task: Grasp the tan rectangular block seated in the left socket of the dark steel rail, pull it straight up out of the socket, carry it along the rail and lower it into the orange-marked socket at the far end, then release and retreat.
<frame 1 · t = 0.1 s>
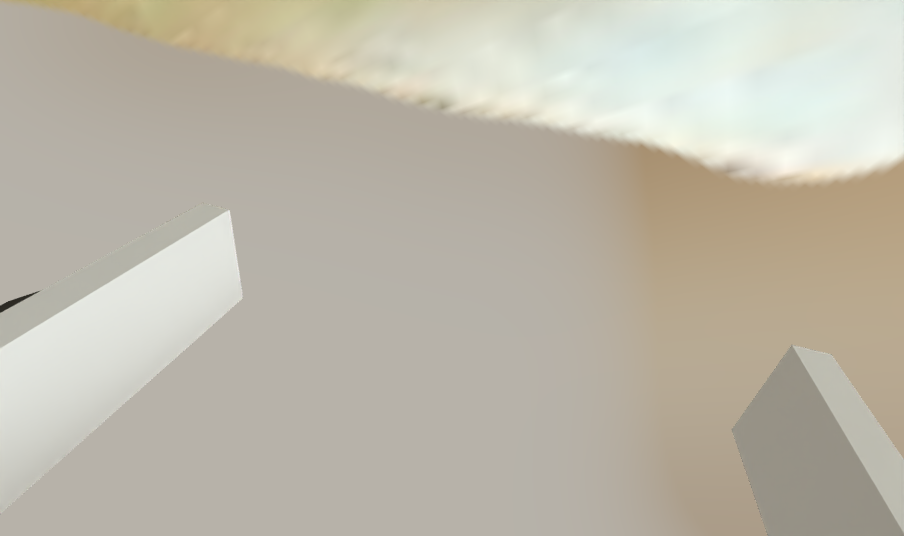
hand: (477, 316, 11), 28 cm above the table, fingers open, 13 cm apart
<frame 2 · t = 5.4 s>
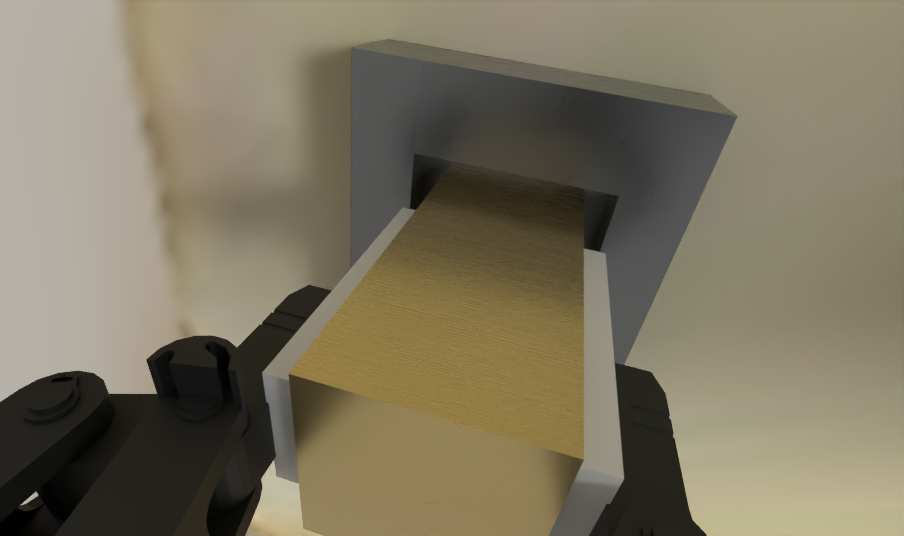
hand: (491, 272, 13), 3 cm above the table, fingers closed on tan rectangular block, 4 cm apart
tan rectangular block: (503, 238, 14), point 1 cm above the table, touching gripper, rail
rail: (471, 389, 20), on the table
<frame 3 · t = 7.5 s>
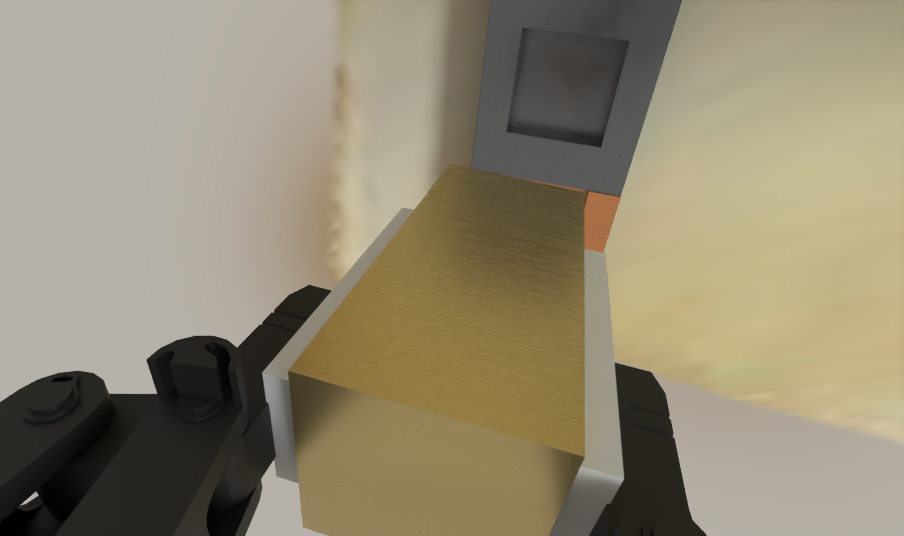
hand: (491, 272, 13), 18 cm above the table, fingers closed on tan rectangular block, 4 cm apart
tan rectangular block: (503, 237, 14), point 16 cm above the table, touching gripper
rail: (565, 82, 27), on the table
when the fingers open (4 cm above the table, at t = 9.7 s): tan rectangular block stays where it is, resting on rail.
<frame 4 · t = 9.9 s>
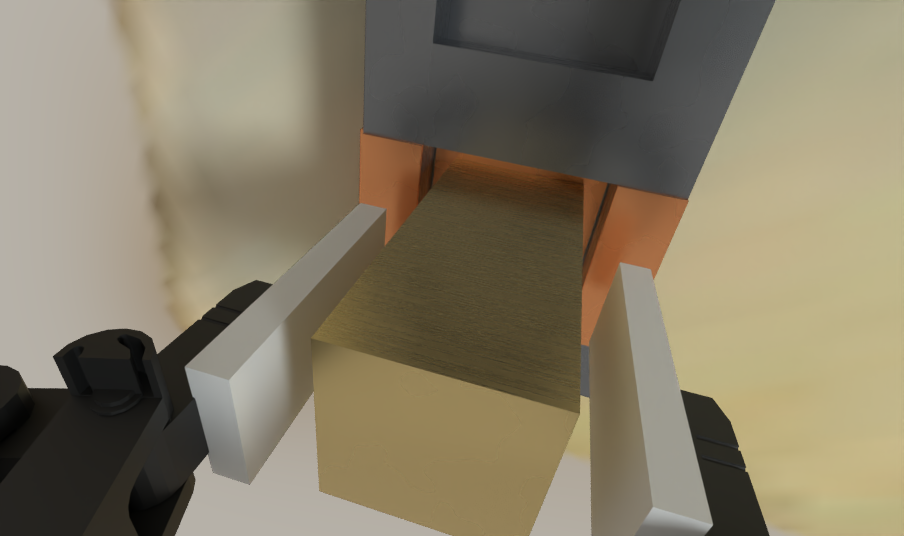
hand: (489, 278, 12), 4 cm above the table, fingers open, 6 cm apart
tan rectangular block: (506, 228, 15), point 1 cm above the table, touching rail
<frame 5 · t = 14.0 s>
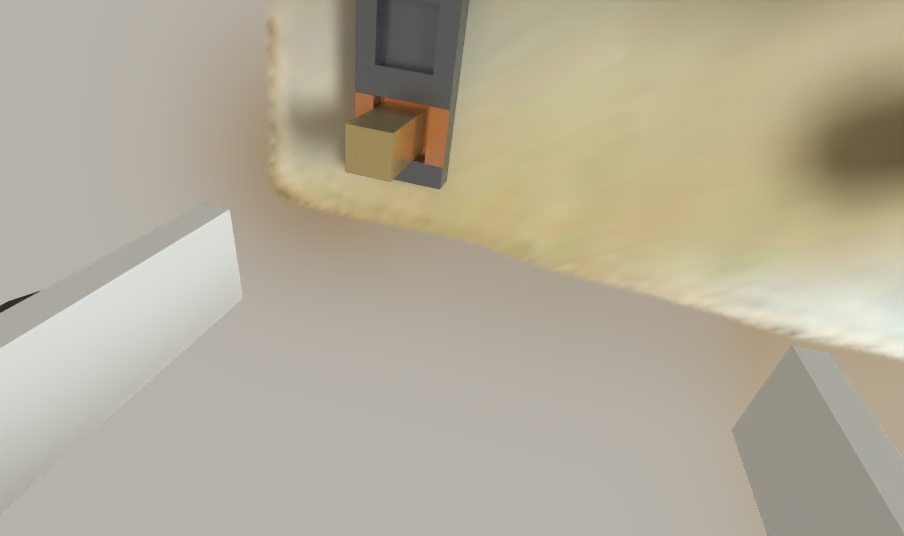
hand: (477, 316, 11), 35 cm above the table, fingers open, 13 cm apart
tan rectangular block: (405, 126, 44), point 1 cm above the table, touching rail
rail: (415, 33, 41), on the table
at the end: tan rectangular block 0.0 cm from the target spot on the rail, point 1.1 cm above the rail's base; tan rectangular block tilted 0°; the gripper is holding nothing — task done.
